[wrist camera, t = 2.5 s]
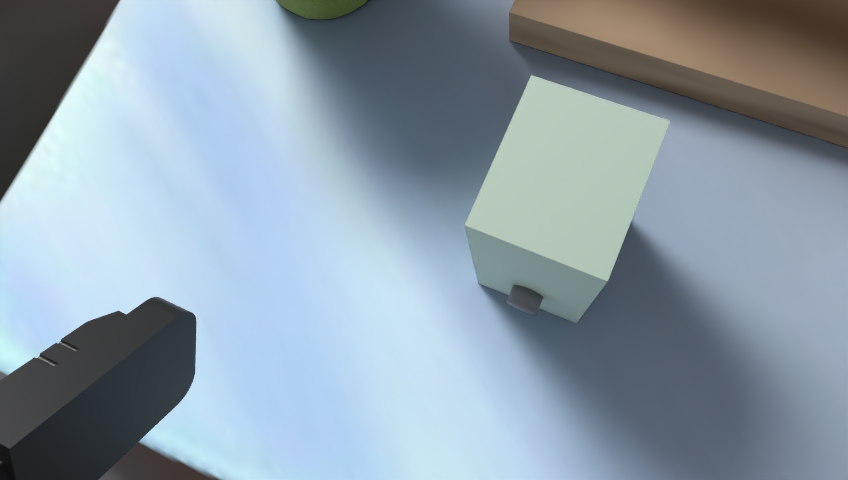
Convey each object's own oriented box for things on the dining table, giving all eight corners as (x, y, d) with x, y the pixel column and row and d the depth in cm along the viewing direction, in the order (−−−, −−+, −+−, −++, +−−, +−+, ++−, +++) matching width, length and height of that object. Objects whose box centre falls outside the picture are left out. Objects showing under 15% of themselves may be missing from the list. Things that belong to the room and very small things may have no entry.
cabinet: (570, 339, 30) (598, 304, 20) (471, 298, 31) (454, 246, 22) (621, 210, 31) (670, 120, 22) (524, 175, 32) (531, 75, 23)
